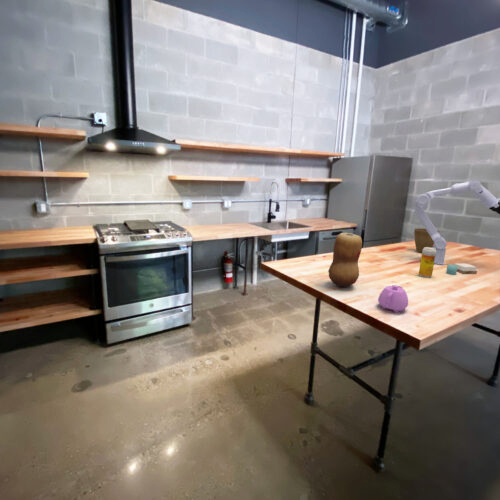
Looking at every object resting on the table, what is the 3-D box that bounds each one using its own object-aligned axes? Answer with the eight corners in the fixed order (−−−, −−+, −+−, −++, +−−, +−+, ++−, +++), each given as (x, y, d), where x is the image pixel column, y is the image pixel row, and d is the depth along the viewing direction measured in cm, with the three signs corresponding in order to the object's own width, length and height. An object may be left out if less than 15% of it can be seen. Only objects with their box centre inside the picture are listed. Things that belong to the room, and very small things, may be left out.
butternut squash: (353, 293, 130) (359, 237, 125) (323, 287, 137) (328, 234, 131) (360, 284, 142) (366, 233, 136) (332, 278, 149) (337, 229, 143)
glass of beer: (427, 278, 153) (432, 250, 149) (416, 274, 158) (420, 247, 155) (434, 276, 156) (439, 249, 152) (423, 273, 161) (427, 246, 157)
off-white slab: (463, 270, 162) (464, 267, 161) (454, 267, 169) (454, 263, 168) (475, 271, 162) (476, 267, 162) (465, 267, 169) (466, 263, 168)
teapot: (372, 309, 115) (375, 286, 113) (385, 298, 126) (388, 277, 124) (400, 318, 108) (404, 294, 106) (412, 305, 119) (416, 283, 117)
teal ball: (446, 274, 161) (448, 266, 160) (445, 271, 165) (446, 264, 164) (456, 275, 159) (458, 267, 158) (455, 273, 163) (456, 265, 162)
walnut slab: (462, 275, 162) (462, 271, 161) (451, 270, 170) (452, 266, 169) (476, 275, 162) (476, 271, 162) (465, 270, 170) (465, 267, 169)
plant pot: (439, 255, 202) (444, 232, 198) (417, 254, 202) (421, 231, 198) (427, 250, 216) (431, 228, 213) (407, 249, 216) (410, 227, 213)
